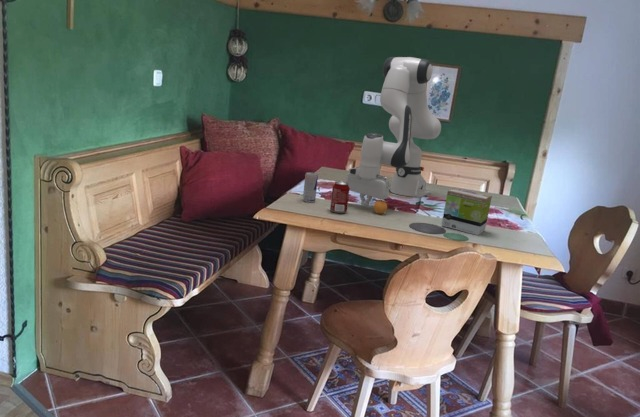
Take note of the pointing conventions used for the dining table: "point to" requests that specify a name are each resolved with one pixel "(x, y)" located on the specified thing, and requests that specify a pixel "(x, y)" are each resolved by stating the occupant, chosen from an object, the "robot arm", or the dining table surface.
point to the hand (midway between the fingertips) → (364, 205)
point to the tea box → (466, 211)
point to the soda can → (339, 197)
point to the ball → (380, 207)
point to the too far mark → (456, 236)
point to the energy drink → (310, 187)
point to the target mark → (427, 228)
